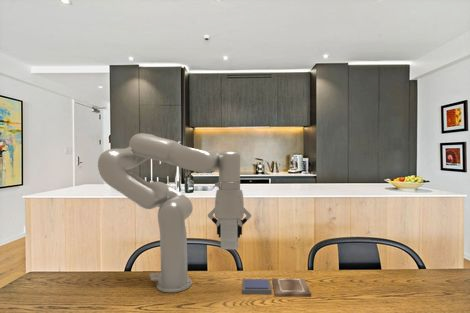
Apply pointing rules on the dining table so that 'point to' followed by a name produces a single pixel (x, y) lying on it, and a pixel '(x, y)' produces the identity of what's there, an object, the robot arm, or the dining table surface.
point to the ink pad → (256, 286)
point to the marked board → (291, 287)
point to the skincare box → (229, 233)
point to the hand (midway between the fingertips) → (229, 236)
